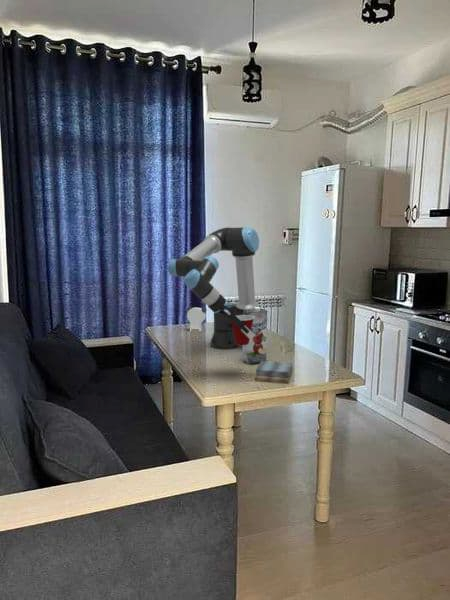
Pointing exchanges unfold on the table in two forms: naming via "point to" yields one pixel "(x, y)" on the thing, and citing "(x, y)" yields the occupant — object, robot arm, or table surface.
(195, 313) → the white rounded piece
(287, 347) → the table surface
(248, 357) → the juice carton
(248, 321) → the plastic cup
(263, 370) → the build plate
